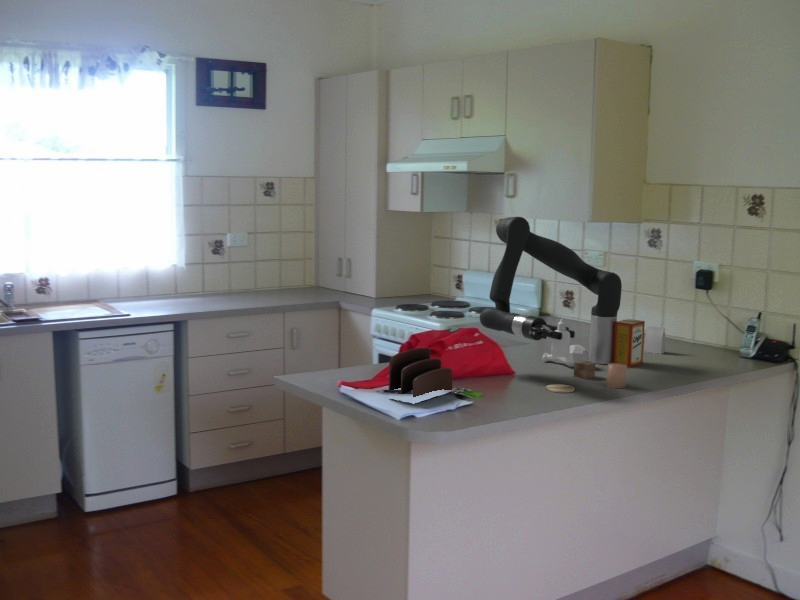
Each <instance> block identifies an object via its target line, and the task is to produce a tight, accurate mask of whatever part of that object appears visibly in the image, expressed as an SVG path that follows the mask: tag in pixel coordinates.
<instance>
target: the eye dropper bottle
mask: <svg viewBox="0 0 800 600" xmlns="http://www.w3.org/2000/svg"><path fill="white" fill-rule="evenodd" d="M566 324H567V323H566V322H565V321H564V318H560V320H559V322H558V323H557V325H558V330H555V331H556V332H561V333H562V339H561V340H558V339H554V338H551V343H550V344H551V346H550V354H551V355H552V356H554V357H568V356H569V352H570V345H571V338H570V333H569V332H568V331H566V330H565V327H567V325H566Z"/></svg>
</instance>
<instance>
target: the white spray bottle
mask: <svg viewBox="0 0 800 600" xmlns="http://www.w3.org/2000/svg"><path fill="white" fill-rule="evenodd" d="M588 358H589V354H588V349H586V348H585V347H584V346H582V345H581V344H570V352H569V356H568V357H554V356H552V355H551V353H550V354H549V353H548V352H544V353H542V357H541V360H542V361H543V362H544V363H548V362H549V361H560V362H562V363H563V364H565V365H566V366H568V368H574V362H578V361H583V360H584V361H589V360H588Z"/></svg>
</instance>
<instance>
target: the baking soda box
mask: <svg viewBox="0 0 800 600" xmlns="http://www.w3.org/2000/svg"><path fill="white" fill-rule="evenodd" d="M644 344H645V321H644V320H640V319H639V320H638V319H632V318H631V319H630V318H626V319H621V320H617V322H615V336H614V356H613V363H622V364H626V365H627V368H631V367H635V366H638V365H641V364H643V362H644V361H643V358H644V357H643V356H644Z"/></svg>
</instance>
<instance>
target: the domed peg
mask: <svg viewBox="0 0 800 600" xmlns="http://www.w3.org/2000/svg"><path fill="white" fill-rule="evenodd" d="M627 370H628V367H627V365H626V364H622V363H609V364H607V373H606V374H607V375H606V377H607V379H606V386H607V387H608V388H612V389H625V388H627V376H628V375H627V372H628V371H627Z"/></svg>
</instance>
